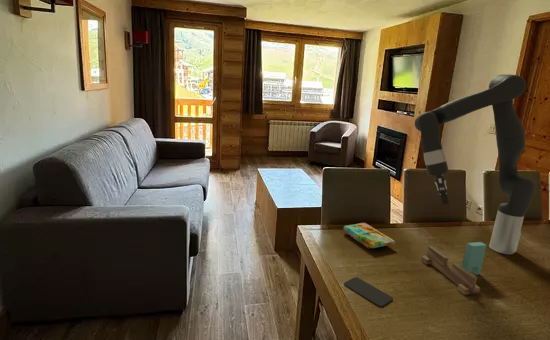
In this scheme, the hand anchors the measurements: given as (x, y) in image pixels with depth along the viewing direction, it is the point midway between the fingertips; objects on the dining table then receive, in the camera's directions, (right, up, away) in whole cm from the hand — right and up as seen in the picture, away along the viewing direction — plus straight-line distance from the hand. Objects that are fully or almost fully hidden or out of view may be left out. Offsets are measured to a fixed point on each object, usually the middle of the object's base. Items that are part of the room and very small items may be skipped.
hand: (445, 202), depth 128 cm
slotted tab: (+6, -26, -6) cm, 27 cm away
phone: (-36, -28, -20) cm, 50 cm away
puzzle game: (-26, -19, +16) cm, 36 cm away
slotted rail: (-4, -26, -8) cm, 27 cm away
